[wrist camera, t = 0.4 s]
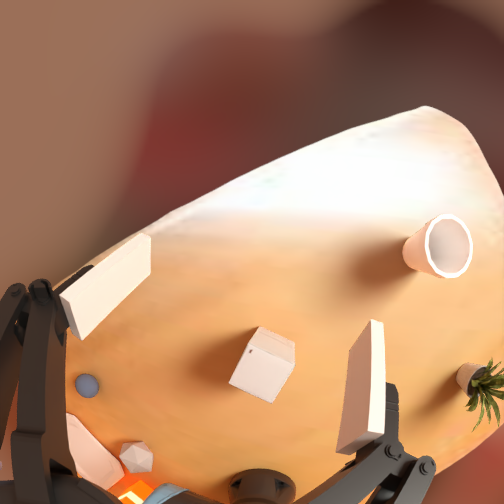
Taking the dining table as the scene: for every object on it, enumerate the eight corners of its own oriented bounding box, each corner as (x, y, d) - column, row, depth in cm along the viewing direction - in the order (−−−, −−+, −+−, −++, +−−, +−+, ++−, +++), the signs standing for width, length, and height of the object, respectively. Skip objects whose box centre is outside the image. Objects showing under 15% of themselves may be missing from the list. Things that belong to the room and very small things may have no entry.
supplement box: (242, 358, 49) (225, 383, 37) (259, 324, 49) (248, 340, 37) (277, 376, 48) (271, 405, 35) (296, 342, 48) (296, 364, 35)
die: (124, 435, 52) (112, 465, 44) (131, 432, 48) (117, 465, 40) (153, 449, 54) (142, 479, 46) (163, 447, 49) (151, 480, 41)
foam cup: (410, 218, 46) (441, 201, 33) (443, 247, 45) (480, 239, 32) (386, 258, 47) (414, 253, 34) (420, 287, 45) (455, 290, 32)
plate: (51, 437, 56) (47, 439, 54) (69, 403, 55) (64, 405, 53) (104, 491, 52) (101, 494, 50) (133, 468, 51) (129, 472, 49)
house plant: (456, 417, 40) (490, 449, 24) (425, 392, 43) (462, 427, 27) (493, 366, 40) (535, 385, 24) (466, 336, 42) (513, 353, 26)
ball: (105, 395, 53) (91, 403, 47) (88, 391, 54) (74, 399, 48) (100, 372, 54) (84, 379, 48) (83, 369, 54) (67, 375, 49)
